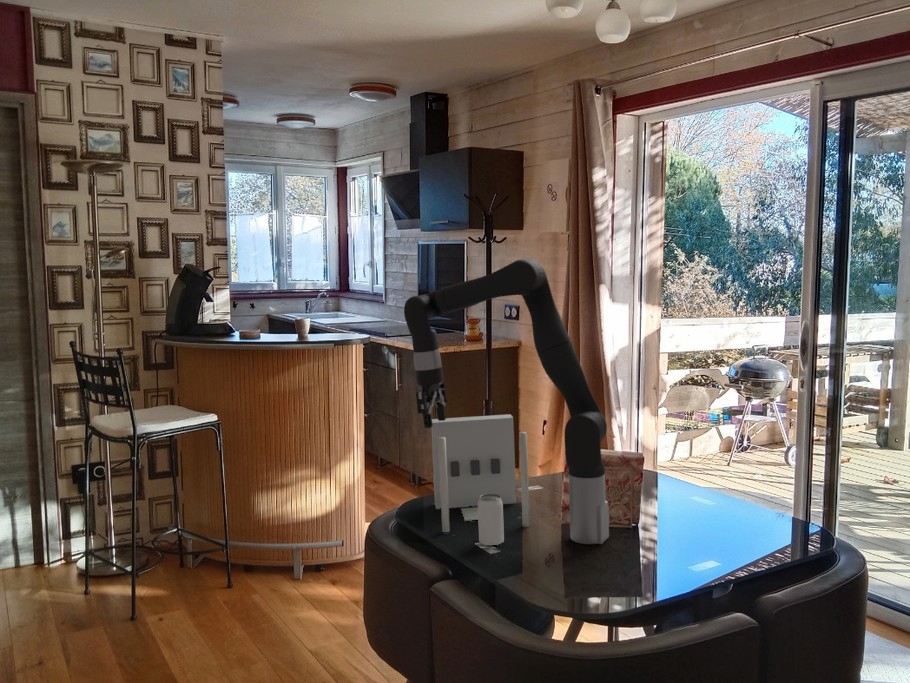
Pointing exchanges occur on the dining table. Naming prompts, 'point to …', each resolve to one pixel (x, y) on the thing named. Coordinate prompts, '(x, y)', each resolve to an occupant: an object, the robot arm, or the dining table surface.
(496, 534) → the can
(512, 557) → the dining table surface
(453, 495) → the breaker panel
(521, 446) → the cord posts
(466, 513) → the pad
